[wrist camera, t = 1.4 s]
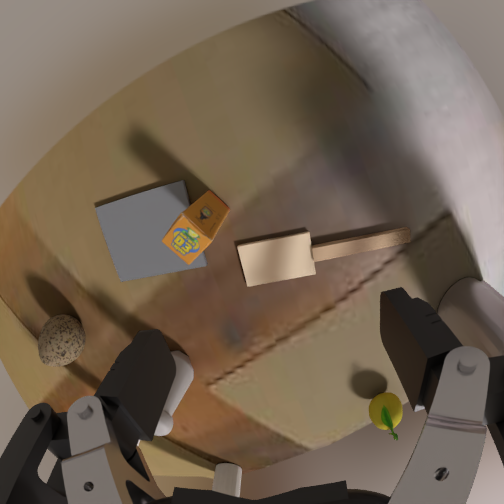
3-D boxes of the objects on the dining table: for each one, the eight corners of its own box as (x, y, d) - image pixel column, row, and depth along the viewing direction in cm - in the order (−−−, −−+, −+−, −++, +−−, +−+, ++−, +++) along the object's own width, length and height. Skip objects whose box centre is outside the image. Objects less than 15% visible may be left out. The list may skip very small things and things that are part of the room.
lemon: (386, 405, 41) (401, 448, 32) (358, 407, 41) (370, 452, 32) (402, 380, 39) (422, 424, 30) (373, 381, 39) (389, 429, 30)
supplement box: (189, 211, 31) (157, 239, 22) (209, 188, 30) (183, 208, 21) (211, 231, 32) (188, 267, 22) (232, 209, 31) (216, 238, 21)
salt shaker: (153, 347, 38) (120, 413, 26) (187, 342, 38) (160, 414, 25) (170, 375, 40) (145, 441, 28) (203, 372, 39) (184, 442, 27)
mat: (184, 179, 30) (182, 180, 29) (207, 263, 33) (206, 265, 33) (97, 207, 31) (95, 208, 31) (122, 279, 35) (121, 281, 34)
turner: (405, 213, 30) (409, 215, 29) (407, 252, 31) (410, 255, 30) (237, 245, 32) (236, 248, 31) (247, 284, 34) (247, 288, 33)
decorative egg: (99, 325, 38) (66, 366, 29) (87, 349, 40) (59, 387, 31) (64, 296, 37) (27, 331, 27) (56, 322, 39) (23, 356, 29)
